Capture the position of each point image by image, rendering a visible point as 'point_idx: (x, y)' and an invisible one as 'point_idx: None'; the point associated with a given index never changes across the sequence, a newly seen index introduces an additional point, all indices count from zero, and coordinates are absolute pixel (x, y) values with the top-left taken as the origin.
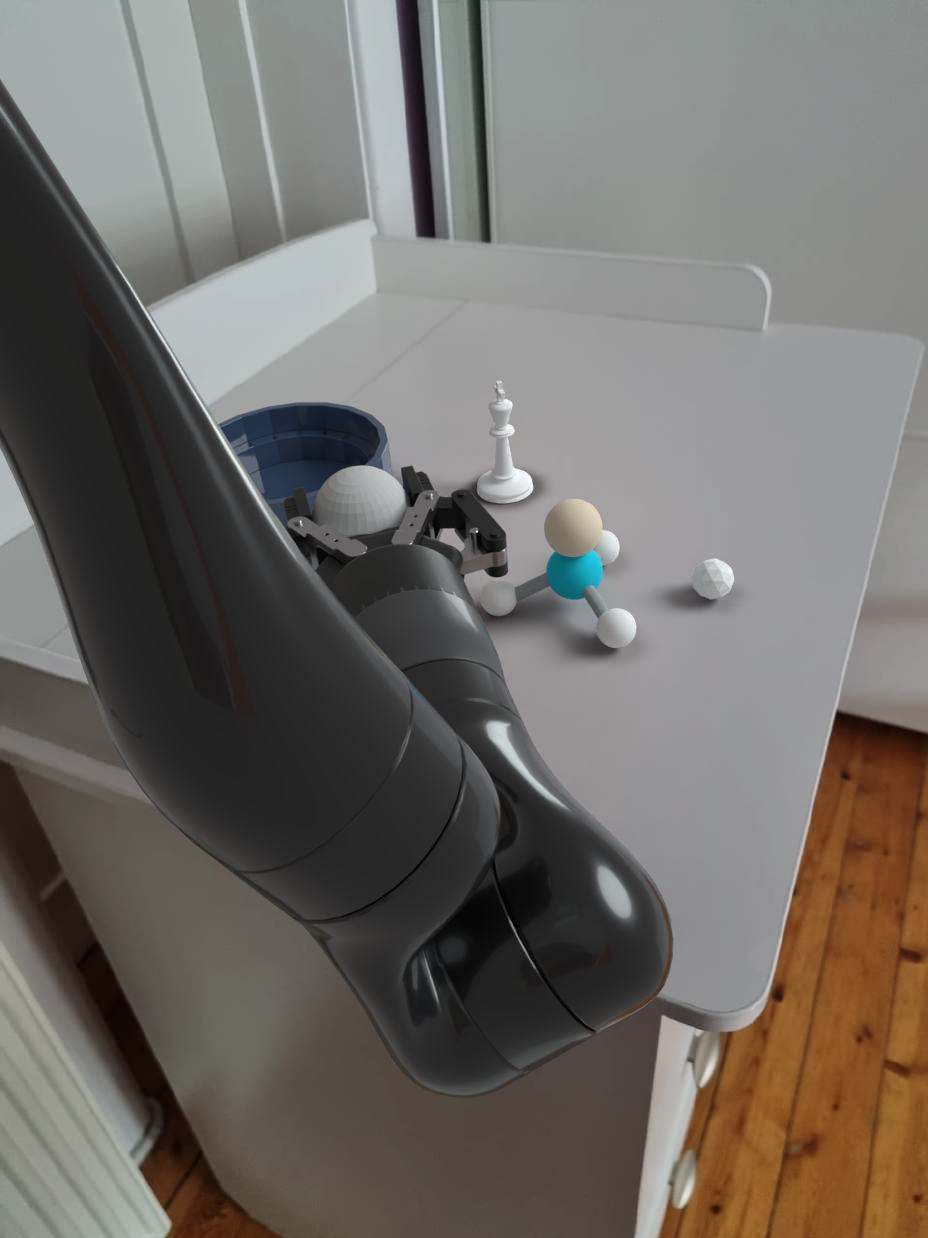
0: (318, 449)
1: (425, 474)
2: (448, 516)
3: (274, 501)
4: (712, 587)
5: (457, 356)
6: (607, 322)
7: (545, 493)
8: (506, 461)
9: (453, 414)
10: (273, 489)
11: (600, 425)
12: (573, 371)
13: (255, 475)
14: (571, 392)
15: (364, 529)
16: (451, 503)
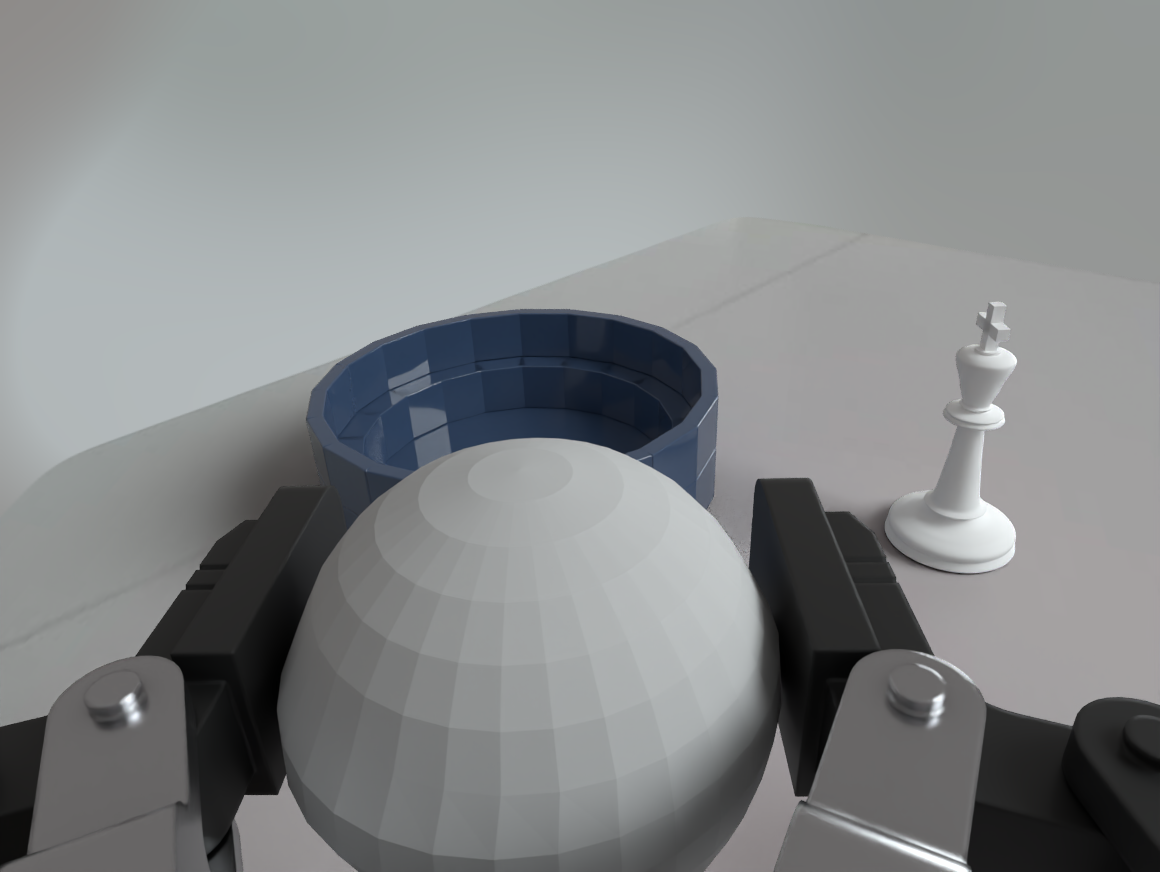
0: (591, 395)
1: (867, 531)
2: (1029, 863)
3: None
4: None
5: (849, 296)
6: (1101, 280)
7: (1046, 566)
8: (970, 482)
9: (839, 377)
10: None
11: (1140, 439)
12: (1057, 340)
13: (475, 421)
14: (1061, 372)
15: (477, 834)
16: (1061, 781)
